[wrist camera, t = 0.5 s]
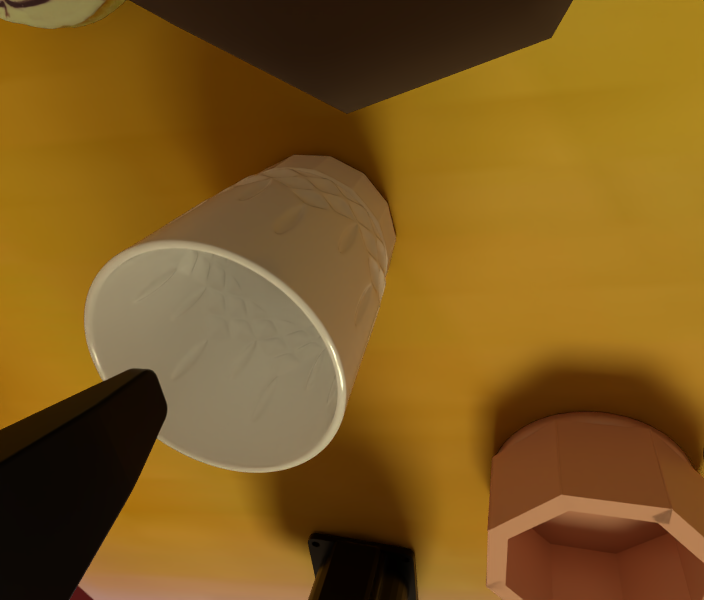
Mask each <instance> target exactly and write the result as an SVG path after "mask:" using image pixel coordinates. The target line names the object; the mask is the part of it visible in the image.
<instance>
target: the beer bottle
mask: <svg viewBox="0 0 704 600" xmlns="http://www.w3.org/2000/svg"><path fill="white" fill-rule="evenodd" d="M130 1H132V2H134V3H136V4H137V5H139V6H141V7H143V8H145V9H146V10H148V11H150V12H152V13H154V14H155V15H157V16H159V17H161V18H163V19H164V20H166V21H168V22H170V23H172V24H174V25H175V26H177V27H179V28H181V29H183V30H185V31H187V32H189V33H191V34H193V35H195V36H197V37H199V38H201V39H203V40H205V41H207V42H209V43H210V44H212V45H214V46H216V47H218V48H220V49H222V50H224V51H226V52H228V53H230V54H232V55H234V56H236V57H238V58H240V59H242V60H244V61H246V62H247V63H249V64H251V65H253V66H255V67H257V68H259V69H261V70H263V71H265V72H267V73H269V74H271V75H273V76H275V77H277V78H279V79H281V80H282V81H284V82H286V83H288V84H290V85H292V86H294V87H296V88H298V89H300V90H302V91H304V92H306V93H308V94H310V95H312V96H314V97H316V98H318V99H319V100H321V101H323V102H325V103H327V104H329V105H331V106H333V107H335V108H337V109H339V110H341V111H343V112H345V113H350V112H353V111H356V110H358V109H361V108H364V107H366V106H369V105H372V104H374V103H377V102H380V101H382V100H385V99H388V98H391V97H393V96H396V95H399V94H401V93H404V92H407V91H409V90H412V89H415V88H417V87H420V86H423V85H426V84H428V83H431V82H434V81H436V80H439V79H442V78H444V77H447V76H450V75H452V74H455V73H458V72H461V71H463V70H466V69H469V68H471V67H474V66H477V65H479V64H482V63H485V62H487V61H490V60H493V59H495V58H498V57H501V56H504V55H506V54H509V53H512V52H514V51H517V50H520V49H522V48H525V47H528V46H530V45H533V44H536V43H539V42H541V41H544V40H547V39H549V38H551V37H552V36H553V34H554V32H555V30H556V29H557V27H558V25H559V23H560V22H561V20H562V18H563V17H564V15H565V13H566V11H567V10H568V8H569V6H570V4H571V3H572V1H573V0H130Z"/></svg>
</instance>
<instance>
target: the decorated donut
mask: <svg viewBox="0 0 704 600" xmlns="http://www.w3.org/2000/svg"><path fill="white" fill-rule="evenodd" d="M124 1H126V0H0V18H2V19H4V20H6V21H10V22H13V23H19V24H26V25H29V26H34V27H40V28H46V29H55V28H64V27H73V28H76V27H79V26H85V25H87V24H90V23H94V22H96V21H98V20H101V19H102V18H105V17H106V16H107V15H109V14H110V13H111V12H113V11H114V10H115V9H117V8H118V7H119V6H120V5H121V4H123V3H124Z"/></svg>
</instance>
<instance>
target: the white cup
mask: <svg viewBox="0 0 704 600" xmlns="http://www.w3.org/2000/svg"><path fill="white" fill-rule="evenodd" d="M395 241H396V235H395V231H394V227H393V223H392V219H391V215H390V210H389V206H388V203H387V202H386V201H385V199H384V198H383V197H382V196H381V194H380V193H379V192H378V190H377V189H376V188H375V187H374V185H373V184H372V183H371V182H370V180H369V179H368V178H367V177H366V175H365V174H364V173H362V172H360V171H358V170H356V169H354V168H352V167H350V166H348V165H347V164H345V163H343V162H341V161H339V160H337V159H335V158H333V157H331V156H315V155H292V156H290V157H288V158H286V159H284V160H282V161H280V162H278V163H276V164H274V165H272V166H270V167H268V168H266V169H264V170H262V171H261V172H259V173H258V174H256V175H250V176H248V177H246V178H244V179H242V180H241V181H239V182H237V183H236V184H234V185H232V186H230V187H228V188H226V189H225V190H223V191H221V192H220V193H218V194H216V195H215V196H213V197H211V198H209V199H207V200H205V201H203V202H202V203H200V204H198V205H197V206H195V207H194V208H192V209H190V210H189V211H187V212H186V213H184V214H182V215H181V216H179V217H177V218H176V219H174V220H173V221H171V222H169V223H168V224H166V225H165V226H163V227H161V228H160V229H158V230H157V231H155V232H153V233H152V234H150V235H148V236H147V237H145V238H144V239H142V240H140V241H139V242H137V243H135V244H134V245H132V246H130V247H129V248H127V249H125V250H124V251H122V252H121V253H119V254H117V255H116V256H115V257H113V258H112V259H111V260H110V261H108V262H107V263H106V264H105V265H104V266H103V267H102V269H101V270H100V271H99V273H98V274H97V275H96V277H95V279H94V280H93V282H92V284H91V287H90V289H89V292H88V295H87V299H86V303H85V311H84V326H85V334H86V340H87V344H88V348H89V351H90V354H91V357H92V360H93V362H94V364H95V367H96V369H97V371H98V373H99V375H100V377H101V378H102V380H103V381H105V380H107V379H109V378H111V377H113V376H115V375H118V374H120V373H122V372H124V371H126V370H128V369H132V368H141V369H150V370H153V371H154V372H155V373H156V375H157V377H158V380H159V383H160V385H161V388H162V391H163V394H164V397H165V399H166V402H167V408H168V409H167V416H166V419H165V421H164V423H163V425H162V428H161V430H160V432H159V434H158V436H157V439H159V440H160V441H162V442H163V443H165V444H166V445H168V446H170V447H171V448H173V449H175V450H177V451H178V452H180V453H182V454H184V455H186V456H188V457H191V458H193V459H195V460H198V461H200V462H203V463H206V464H209V465H212V466H215V467H219V468H223V469H228V470H233V471H239V472H250V473H264V472H275V471H280V470H285V469H289V468H292V467H295V466H298V465H300V464H302V463H304V462H306V461H308V460H310V459H311V458H313V457H315V456H316V455H317V454H319V453H320V452H321V451H322V450H323V449H324V448H325V447H326V446H327V445H328V444H329V443H330V442H331V440H332V439H333V437H334V436H335V434H336V433H337V431H338V429H339V427H340V424H341V422H342V419H343V416H344V413H345V410H346V407H347V404H348V401H349V398H350V395H351V392H352V389H353V386H354V383H355V380H356V377H357V374H358V371H359V368H360V365H361V362H362V359H363V356H364V353H365V350H366V347H367V344H368V341H369V338H370V336H371V333H372V330H373V327H374V323H375V320H376V317H377V314H378V311H379V308H380V303H381V299H382V296H383V293H384V289H385V286H386V275H387V273H388V269H389V265H390V261H391V257H392V253H393V249H394V245H395Z"/></svg>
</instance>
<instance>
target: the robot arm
mask: <svg viewBox="0 0 704 600" xmlns="http://www.w3.org/2000/svg"><path fill="white" fill-rule="evenodd" d="M167 409H168V408H167V402H166V399H165V397H164V394H163V391H162V388H161V385H160V383H159V380H158V377H157V375H156V373H155V372H154V371H153V370H150V369H141V368H132V369H128V370H126V371H124V372H122V373H120V374H118V375H115V376H113V377H111V378H109V379H107V380H105V381H103V382H101V383H99V384H96V385H94V386H92V387H90V388H88V389H86V390H84V391H82V392H80V393H77V394H75V395H73V396H71V397H69V398H67V399H65V400H63V401H60V402H58V403H56V404H54V405H52V406H50V407H48V408H46V409H44V410H41V411H39V412H37V413H35V414H33V415H31V416H29V417H27V418H25V419H22V420H20V421H18V422H16V423H14V424H12V425H10V426H8V427H6V428H3V429H1V430H0V600H70V598H71V596H72V594H73V593H74V591H75V589H76V588H77V586H78V584H79V582H80V581H81V579H82V577H83V576H84V574H85V572H86V570H87V569H88V567H89V565H90V563H91V562H92V560H93V558H94V556H95V555H96V553H97V551H98V550H99V548H100V546H101V544H102V543H103V541H104V539H105V537H106V536H107V534H108V532H109V531H110V529H111V527H112V525H113V524H114V522H115V520H116V518H117V517H118V515H119V513H120V512H121V510H122V508H123V506H124V505H125V503H126V501H127V499H128V497H129V496H130V494H131V492H132V490H133V488H134V486H135V484H136V482H137V480H138V478H139V476H140V474H141V471H142V469H143V467H144V465H145V463H146V460H147V458H148V456H149V454H150V452H151V449H152V447H153V445H154V443H155V441H156V439H157V436H158V434H159V432H160V430H161V428H162V425H163V423H164V421H165V419H166V416H167ZM703 457H704V451H703ZM308 545H309V550H310V555H311V559H312V564H313V569H314V574H315V581H314V584H313V587H312V590H311V593H310V596H309V599H308V600H418V594H417V580H416V565H415V554H414V552H413V551H412V550H410V549H407V548H403V547H397V546H391V545H384V544H378V543H372V542H366V541H360V540H354V539H348V538H342V537H336V536H330V535H324V534H318V533H313V534H311V535H310V538H309V540H308Z"/></svg>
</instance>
